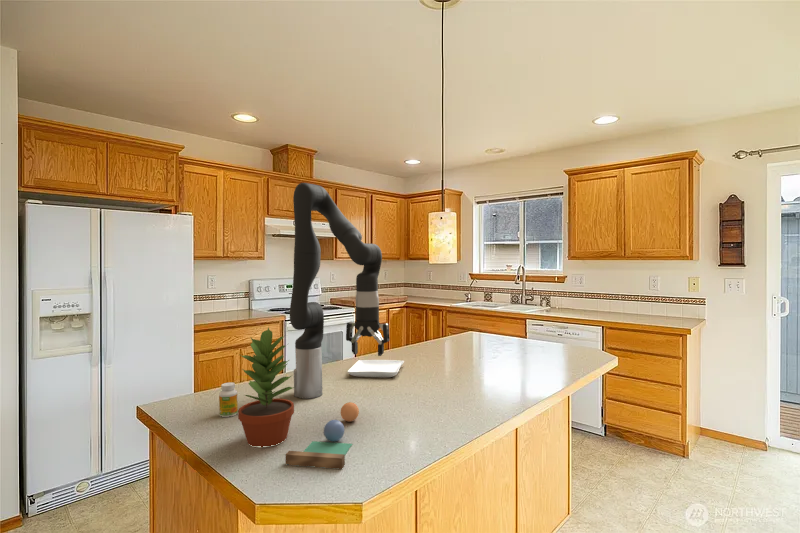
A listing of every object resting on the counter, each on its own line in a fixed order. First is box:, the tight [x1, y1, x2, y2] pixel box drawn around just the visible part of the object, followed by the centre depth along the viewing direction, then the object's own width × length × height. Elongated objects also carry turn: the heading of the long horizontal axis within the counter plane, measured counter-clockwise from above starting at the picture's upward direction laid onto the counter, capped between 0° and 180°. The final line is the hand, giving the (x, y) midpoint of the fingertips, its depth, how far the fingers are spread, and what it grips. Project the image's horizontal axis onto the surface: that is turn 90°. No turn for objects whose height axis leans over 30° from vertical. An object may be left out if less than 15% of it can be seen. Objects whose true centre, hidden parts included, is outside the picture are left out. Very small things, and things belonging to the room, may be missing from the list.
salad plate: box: [347, 359, 405, 378], centre depth 183 cm, size 21×21×3 cm
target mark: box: [302, 440, 353, 456], centre depth 107 cm, size 11×11×1 cm
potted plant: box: [237, 326, 296, 447], centre depth 115 cm, size 15×15×30 cm
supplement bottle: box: [218, 381, 239, 418], centre depth 135 cm, size 5×5×10 cm
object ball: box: [323, 419, 345, 443], centre depth 114 cm, size 6×6×6 cm
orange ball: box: [339, 401, 360, 423], centre depth 128 cm, size 6×6×6 cm
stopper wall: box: [284, 450, 346, 470], centre depth 101 cm, size 14×2×2 cm, turn 79°
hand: (367, 354), depth 138 cm, fingers open, 8 cm apart
